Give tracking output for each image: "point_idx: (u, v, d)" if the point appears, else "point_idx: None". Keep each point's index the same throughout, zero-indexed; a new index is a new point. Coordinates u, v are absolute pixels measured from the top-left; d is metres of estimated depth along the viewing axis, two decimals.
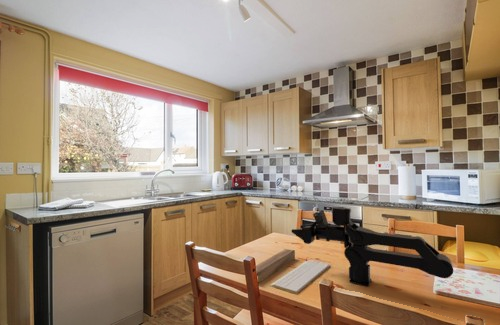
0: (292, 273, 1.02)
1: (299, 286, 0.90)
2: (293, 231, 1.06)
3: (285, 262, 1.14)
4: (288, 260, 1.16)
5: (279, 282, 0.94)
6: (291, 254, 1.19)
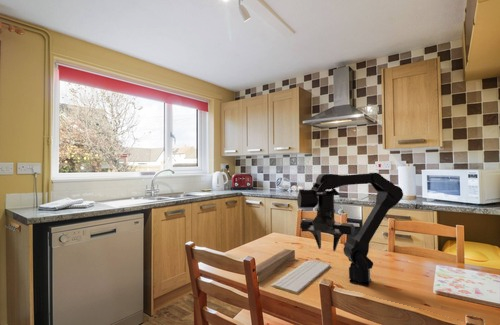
0: (292, 273, 1.01)
1: (299, 286, 0.90)
2: (335, 248, 0.94)
3: (285, 262, 1.14)
4: (288, 260, 1.16)
5: (279, 282, 0.94)
6: (291, 254, 1.19)
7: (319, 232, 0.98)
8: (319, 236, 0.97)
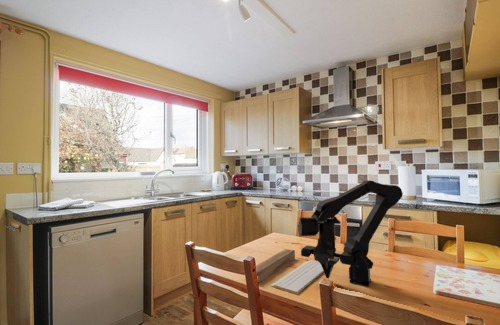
0: (293, 273, 1.01)
1: (300, 286, 0.90)
2: (329, 275, 0.95)
3: (285, 262, 1.14)
4: (288, 260, 1.16)
5: (280, 282, 0.93)
6: (291, 254, 1.19)
7: None
8: (326, 265, 0.96)
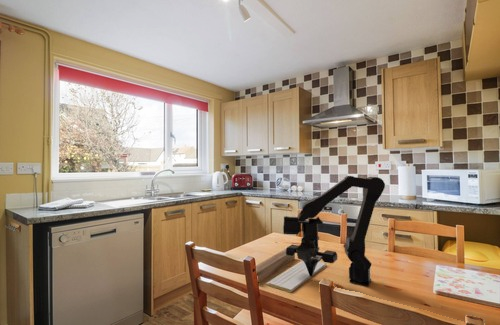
0: (288, 272, 1.03)
1: (294, 284, 0.91)
2: (312, 273, 0.98)
3: (285, 262, 1.14)
4: (288, 260, 1.16)
5: (275, 280, 0.95)
6: None
7: (310, 259, 1.00)
8: (310, 263, 0.99)
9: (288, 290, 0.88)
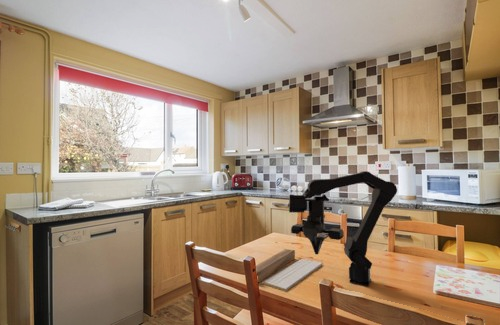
0: (284, 271, 1.04)
1: (289, 284, 0.92)
2: (318, 251, 0.97)
3: (285, 262, 1.14)
4: (288, 260, 1.16)
5: (270, 280, 0.96)
6: (291, 254, 1.19)
7: (316, 238, 0.99)
8: (316, 242, 0.98)
9: (283, 289, 0.89)
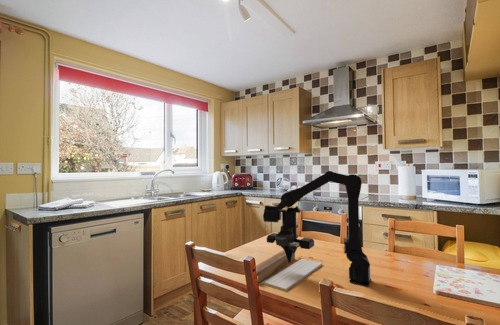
0: (284, 271, 1.04)
1: (289, 284, 0.92)
2: (291, 259, 1.03)
3: (285, 262, 1.14)
4: None
5: (270, 280, 0.96)
6: None
7: None
8: None
9: (283, 289, 0.89)
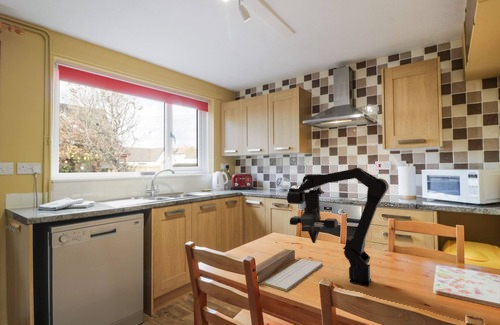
0: (284, 271, 1.03)
1: (289, 284, 0.92)
2: (315, 240, 1.05)
3: (285, 262, 1.14)
4: (288, 260, 1.16)
5: (270, 280, 0.96)
6: (291, 254, 1.19)
7: (312, 228, 1.07)
8: (313, 231, 1.07)
9: (283, 289, 0.89)
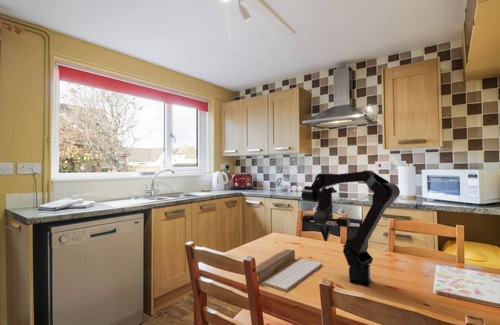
0: (284, 271, 1.03)
1: (289, 284, 0.92)
2: (327, 238, 1.07)
3: (285, 262, 1.14)
4: (288, 260, 1.16)
5: (270, 280, 0.96)
6: (291, 254, 1.19)
7: (324, 226, 1.09)
8: (325, 229, 1.08)
9: (283, 289, 0.89)
